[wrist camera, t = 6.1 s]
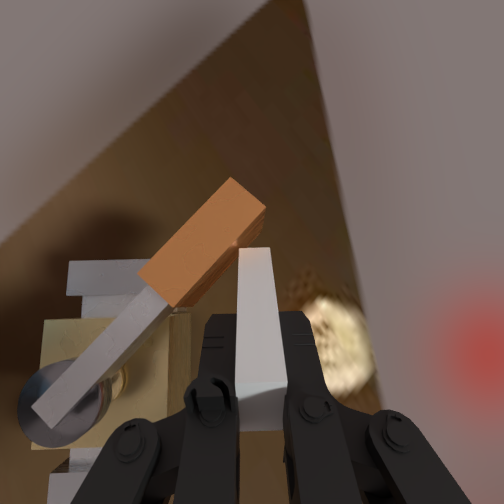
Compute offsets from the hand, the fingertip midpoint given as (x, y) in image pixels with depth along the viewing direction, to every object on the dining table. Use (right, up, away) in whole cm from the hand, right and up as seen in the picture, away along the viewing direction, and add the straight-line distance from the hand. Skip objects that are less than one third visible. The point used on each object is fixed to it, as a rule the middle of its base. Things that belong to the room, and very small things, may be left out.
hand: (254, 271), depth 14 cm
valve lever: (-5, -2, +1) cm, 5 cm away
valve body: (-8, -7, +9) cm, 14 cm away
